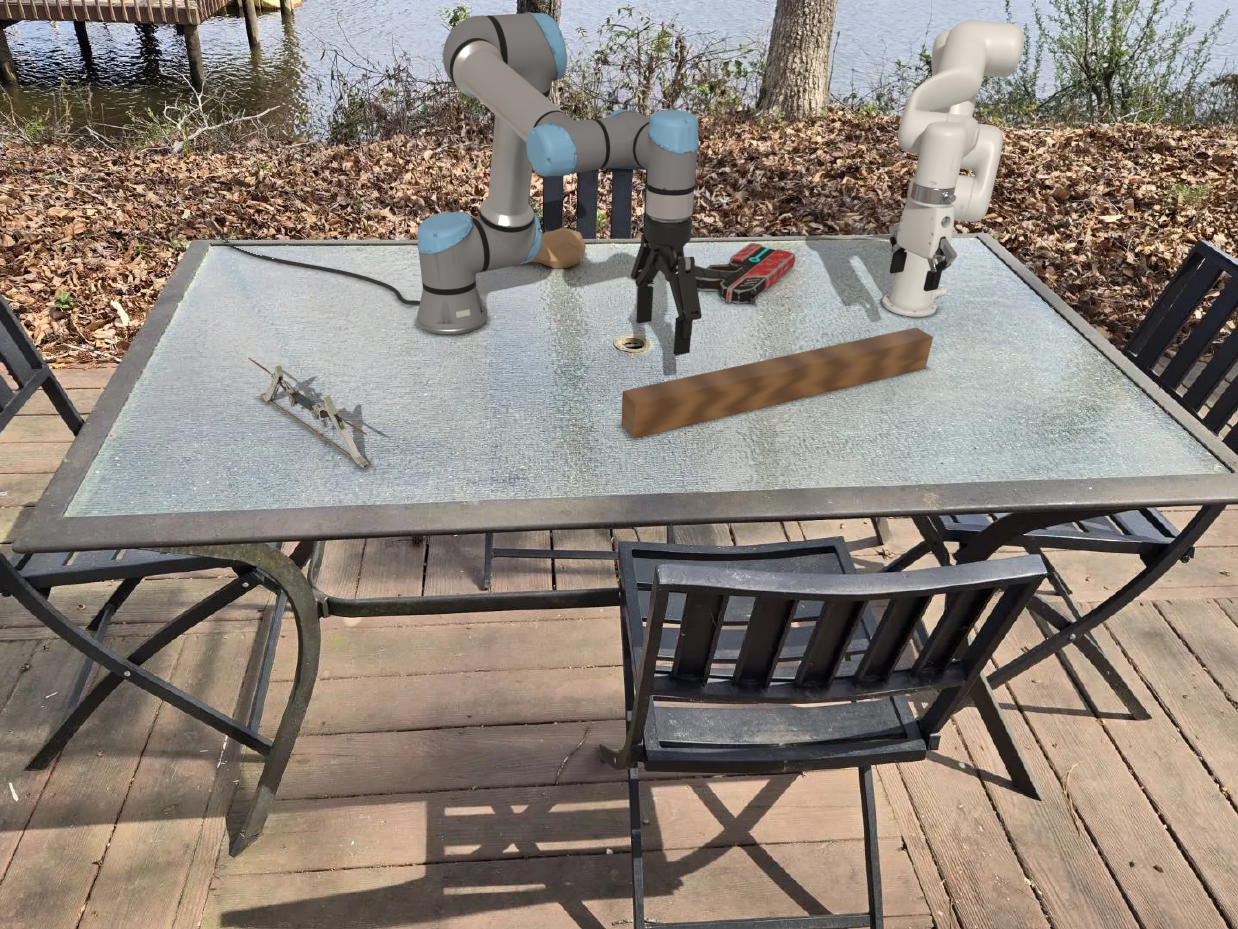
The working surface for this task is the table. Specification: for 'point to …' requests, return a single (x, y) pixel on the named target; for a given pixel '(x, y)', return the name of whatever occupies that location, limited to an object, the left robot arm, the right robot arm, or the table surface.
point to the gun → (745, 273)
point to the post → (771, 382)
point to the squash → (561, 248)
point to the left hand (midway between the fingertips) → (662, 337)
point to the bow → (313, 411)
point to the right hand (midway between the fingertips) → (912, 280)
